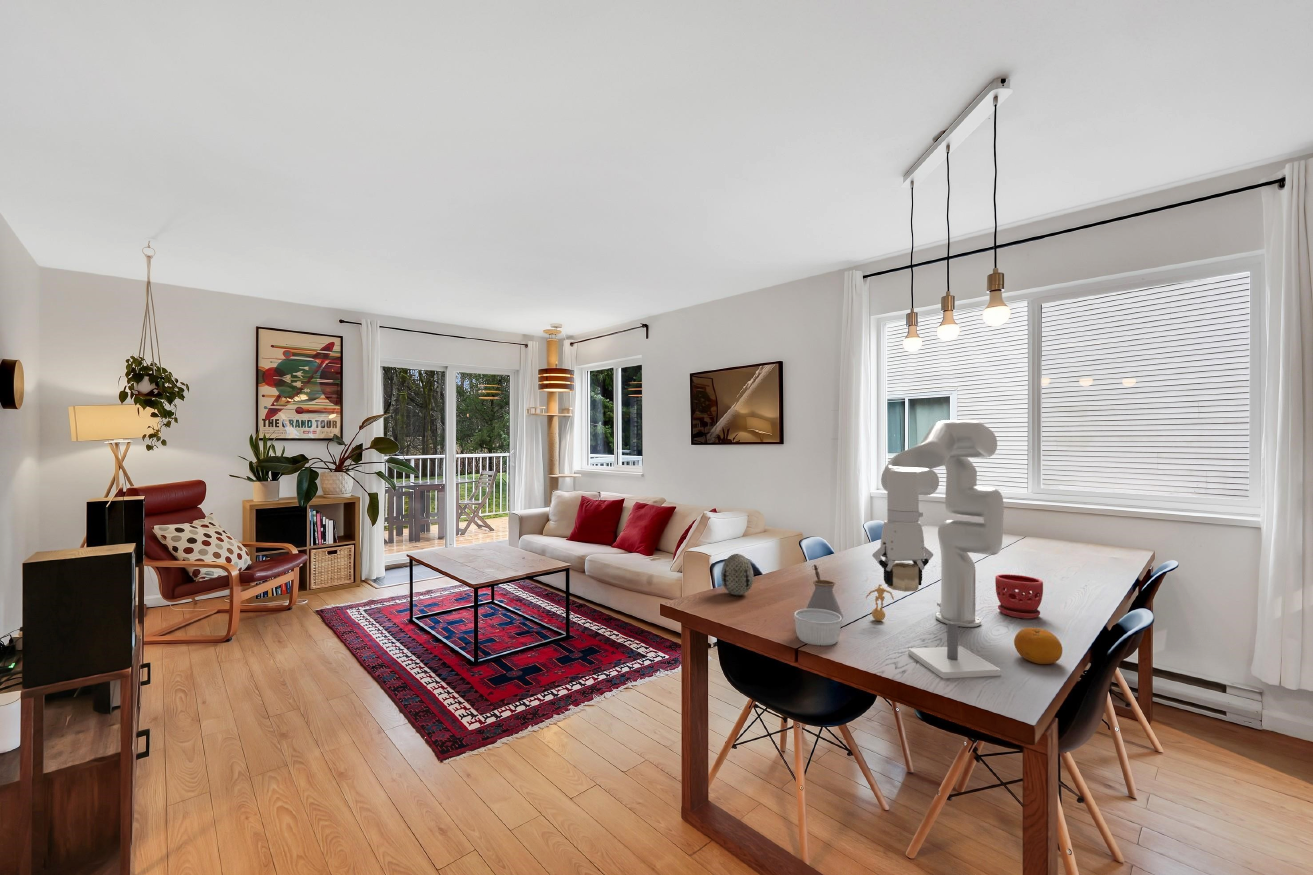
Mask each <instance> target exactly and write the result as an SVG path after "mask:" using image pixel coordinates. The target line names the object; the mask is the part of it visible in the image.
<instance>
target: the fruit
mask: <svg viewBox="0 0 1313 875" xmlns="http://www.w3.org/2000/svg"><path fill="white" fill-rule="evenodd" d="M1013 639H1014V640H1013V645H1014V648H1015V650H1016V652H1017V653H1018V654H1019V656H1021V657H1022V658H1023V659H1025V660H1026V661H1029V662H1031V663H1033V664H1037V665H1050V664H1054V663H1057V662H1058V661H1059V660H1060V659H1061V658H1062V656H1063V645H1062V643H1061V641H1060V639H1059V638H1058V637H1057V636H1056V635H1054V634H1053V633H1052V632H1051V631H1048V630H1047V629H1042V628H1039V627H1024V628H1022V629H1020V630H1019V631H1018V632H1017V633H1016V634H1015V636H1014V638H1013Z"/></svg>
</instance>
